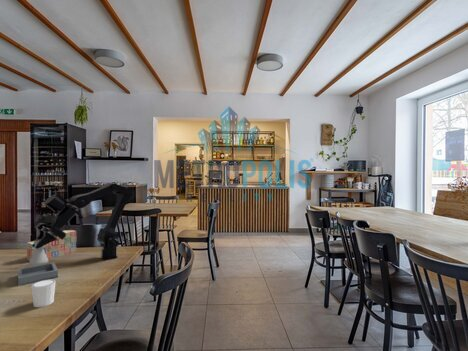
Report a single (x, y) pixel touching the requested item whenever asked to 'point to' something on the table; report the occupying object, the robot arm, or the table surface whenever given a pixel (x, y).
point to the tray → (37, 273)
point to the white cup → (43, 292)
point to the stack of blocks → (57, 246)
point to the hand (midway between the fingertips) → (34, 247)
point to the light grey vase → (38, 255)
